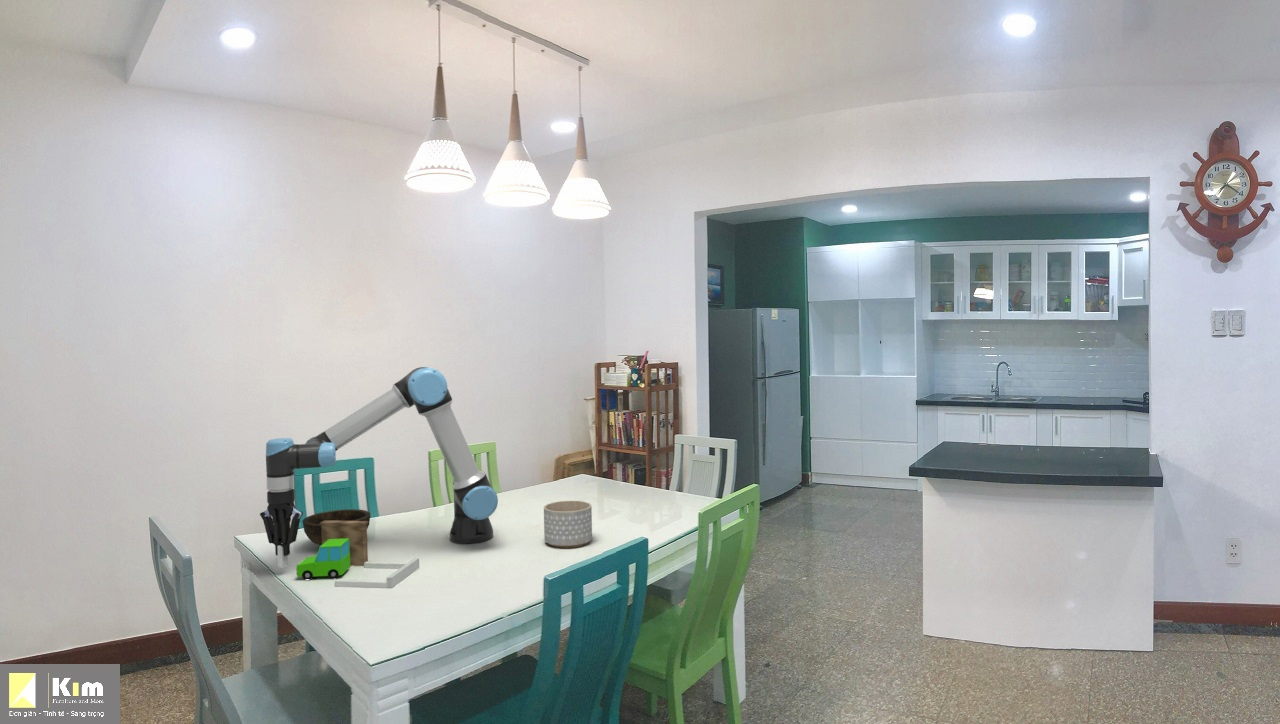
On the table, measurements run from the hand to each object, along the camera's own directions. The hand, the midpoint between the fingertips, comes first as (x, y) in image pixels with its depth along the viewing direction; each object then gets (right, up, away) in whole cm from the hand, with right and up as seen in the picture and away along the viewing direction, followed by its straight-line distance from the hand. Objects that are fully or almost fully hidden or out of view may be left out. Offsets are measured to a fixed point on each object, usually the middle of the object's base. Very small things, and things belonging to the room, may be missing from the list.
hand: (283, 565), depth 218 cm
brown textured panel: (+15, -2, +9) cm, 18 cm away
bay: (+30, -2, -4) cm, 30 cm away
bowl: (+4, -2, +30) cm, 30 cm away
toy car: (+13, -3, -1) cm, 13 cm away
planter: (+85, 0, +28) cm, 89 cm away
